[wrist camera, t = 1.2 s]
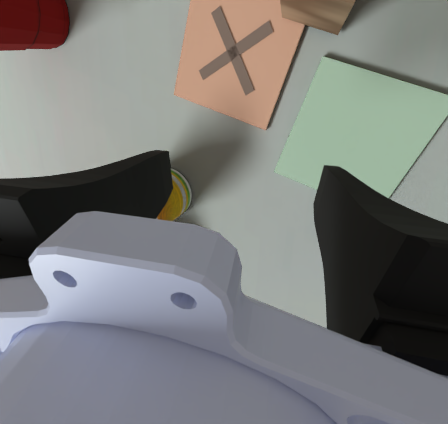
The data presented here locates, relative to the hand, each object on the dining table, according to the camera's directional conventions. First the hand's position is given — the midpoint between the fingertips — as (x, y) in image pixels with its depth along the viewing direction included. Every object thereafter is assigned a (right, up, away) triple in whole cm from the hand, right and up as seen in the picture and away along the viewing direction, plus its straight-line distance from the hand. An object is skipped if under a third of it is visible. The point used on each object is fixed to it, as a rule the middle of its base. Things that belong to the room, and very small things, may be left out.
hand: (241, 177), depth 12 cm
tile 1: (0, +11, +8) cm, 14 cm away
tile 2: (+9, +4, +7) cm, 12 cm away
